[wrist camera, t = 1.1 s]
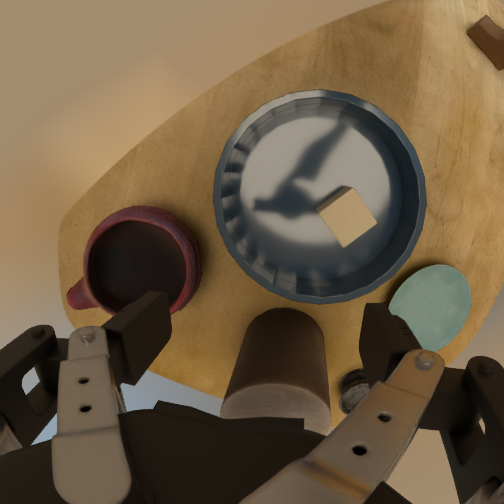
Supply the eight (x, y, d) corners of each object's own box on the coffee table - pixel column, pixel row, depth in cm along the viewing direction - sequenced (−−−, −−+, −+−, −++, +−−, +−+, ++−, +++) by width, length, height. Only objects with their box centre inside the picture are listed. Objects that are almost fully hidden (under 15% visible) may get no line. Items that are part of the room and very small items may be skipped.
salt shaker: (385, 368, 34) (407, 433, 23) (370, 400, 36) (385, 464, 24) (343, 364, 35) (355, 433, 23) (331, 397, 36) (337, 464, 25)
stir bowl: (199, 148, 31) (180, 143, 26) (364, 81, 26) (376, 64, 21) (269, 307, 34) (264, 329, 29) (426, 246, 30) (446, 260, 24)
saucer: (476, 275, 29) (485, 281, 27) (437, 354, 33) (443, 363, 30) (405, 246, 30) (412, 251, 28) (365, 336, 33) (369, 345, 31)
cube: (315, 208, 30) (318, 213, 26) (346, 185, 29) (353, 187, 25) (337, 239, 30) (343, 248, 27) (368, 217, 29) (377, 223, 25)
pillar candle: (265, 294, 34) (242, 374, 20) (338, 328, 34) (357, 417, 19) (232, 355, 37) (199, 441, 22) (299, 383, 36) (295, 474, 22)
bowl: (147, 179, 33) (107, 182, 25) (232, 246, 33) (213, 268, 25) (94, 277, 37) (58, 298, 30) (164, 337, 38) (137, 370, 30)
